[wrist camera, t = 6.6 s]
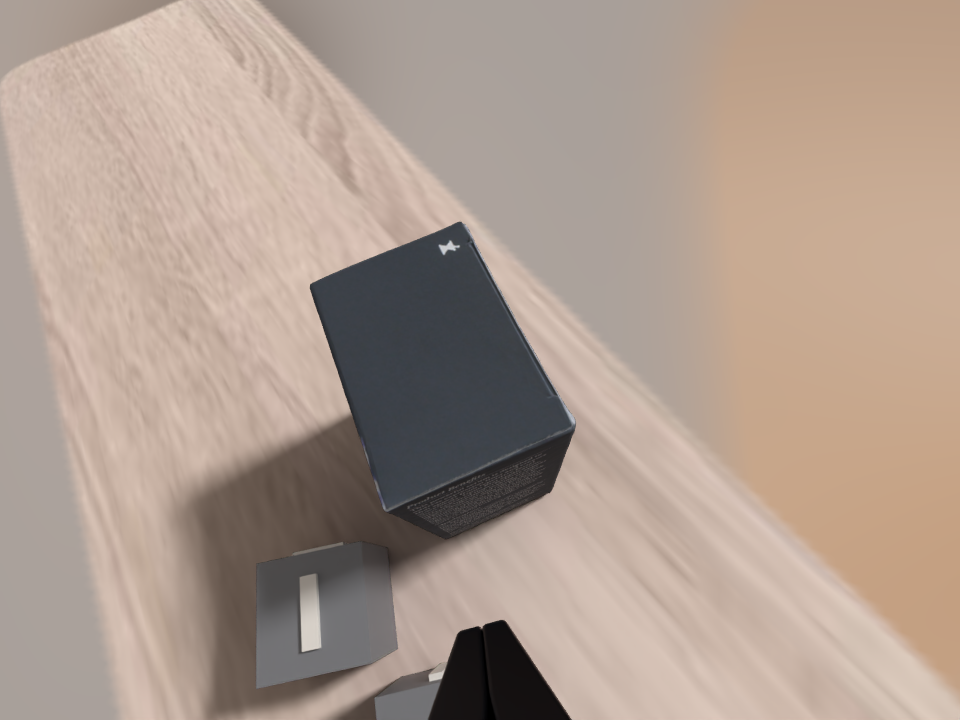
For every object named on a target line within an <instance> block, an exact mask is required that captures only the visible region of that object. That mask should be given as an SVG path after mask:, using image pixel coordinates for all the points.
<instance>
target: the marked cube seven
mask: <svg viewBox="0 0 960 720" xmlns="http://www.w3.org/2000/svg"><path fill="white" fill-rule="evenodd" d="M397 649H398V644H397V635H396V625H395V616H394V606H393V597H392V588H391V578H390V569H389V559H388V550H387V547H383V546H379V545H375V544H371V543H367V542H363V541H359V542H355V543H350V544H347V543H346V542H340V543H336V544H331V545H326V546H322V547H317V548H313V549H308V550H303V551H299V552H294V553H293V556H290V557H285V558H281V559H276V560H272V561H267V562H262V563H258V564H257V577H256V689H258V688H263V687H267V686H272V685H277V684H281V683H286V682H290V681H295V680H299V679H304V678H308V677H313V676H317V675H322V674H326V673H331V672H335V671H340V670H344V669H349V668H353V667H358V666H363V665H367V664H372V663H373V662H375V661H377V660H379V659H380V658H382V657H384V656H386V655H388V654H389V653H391V652H393V651H395V650H397Z"/></svg>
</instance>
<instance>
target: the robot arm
mask: <svg viewBox="0 0 960 720" xmlns="http://www.w3.org/2000/svg"><path fill="white" fill-rule="evenodd" d="M428 720H572V719H571V718H570V716H569V715H568V713H567V712H566V710H565V709H564V707H563V706H562V704H561V703H560V701H559V700H558V698H557V697H556V695H555V694H554V692H553V691H552V689H551V688H550V686H549V685H548V683H547V682H546V680H545V679H544V677H543V676H542V674H541V673H540V671H539V670H538V669H537V667H536V666H535V664H534V663H533V661H532V660H531V658H530V657H529V655H528V654H527V652H526V651H525V649H524V648H523V646H522V645H521V643H520V642H519V640H518V639H517V637H516V636H515V634H514V633H513V631H512V630H511V628H510V627H509V625H508V624H507V622H506V621H504V620H499V621H495V622H492V623H488V624H485V625H484V626H483V628H481V627H478V626H477V627H473V628H469V629H466V630H462V631H460V632H459V633H458V634H457V636H456V639H455V642H454V645H453V648H452V651H451V653H450V656H449V659H448V662H447V665H446V668H445V671H444V674H443V677H442V679H441V682H440V685H439V688H438V691H437V694H436V697H435V700H434V703H433V705H432V708H431V711H430V714H429V717H428Z"/></svg>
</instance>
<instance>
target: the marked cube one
mask: <svg viewBox="0 0 960 720" xmlns="http://www.w3.org/2000/svg"><path fill="white" fill-rule="evenodd" d="M446 665H447V662H444V663H440V664H439V665H438V666H437V667H436V668H435V669H432V670H428V671H423V672H419V673H415V674H411V675H407V676H402V677H400V678H399V679H398V680H396V681H395V682H394V683H393V684H391V685H390V686H389V687H388V688H386V689H385V690H384V691H382V692H381V693H380V694H379V695H377V696H376V697H375V698H374V700H375V710H376V720H428V717H429V714H430V711H431V708H432V705H433V703H434V700H435V697H436V694H437V691H438V688H439V685H440V682H441V679H442V677H443V674H444V671H445V668H446Z"/></svg>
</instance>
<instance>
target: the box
mask: <svg viewBox="0 0 960 720" xmlns="http://www.w3.org/2000/svg"><path fill="white" fill-rule="evenodd" d="M310 290H311V293H312V297H313V300H314V303H315V306H316V309H317V312H318V314H319V317H320V320H321V323H322V326H323V329H324V332H325V335H326V338H327V341H328V344H329V347H330V350H331V353H332V356H333V359H334V362H335V365H336V368H337V371H338V374H339V377H340V380H341V383H342V386H343V389H344V393H345V396H346V398H347V401H348V404H349V407H350V410H351V413H352V416H353V419H354V422H355V425H356V428H357V431H358V434H359V437H360V439H361V442H362V445H363V448H364V452H365V455H366V458H367V461H368V464H369V467H370V470H371V473H372V476H373V479H374V482H375V485H376V488H377V492H378V495H379V498H380V501H381V504H382V507H383V509H384V511H385V512H387V513H390V514H393V515H396V516H397V517H400V518H402V519H404V520H406V521H408V522H410V523H412V524H414V525H416V526H419V527H420V528H423V529H425V530H427V531H429V532H431V533H433V534H435V535H437V536H439V537H441V538H443V539H448V538H451V537H453V536H455V535H457V534H459V533H461V532H463V531H466V530H468V529H470V528H472V527H475V526H477V525H479V524H481V523H483V522H486V521H488V520H490V519H492V518H494V517H496V516H498V515H501V514H503V513H505V512H507V511H510V510H512V509H514V508H516V507H518V506H521V505H523V504H525V503H527V502H529V501H532V500H534V499H536V498H539V497H541V496H543V495H545V494H547V493H550V492H551V491H552V489H553V487H554V484H555V481H556V478H557V476H558V473H559V471H560V468H561V465H562V462H563V459H564V457H565V454H566V451H567V449H568V447H569V444H570V441H571V438H572V435H573V433H574V431H575V426H576V421H575V418H574V417H573V415H572V414H571V413H570V411H569V410H568V409H567V407H566V405H565V404H564V402H563V401H562V399H561V398H560V396H559V394H558V392H557V391H556V389H555V387H554V386H553V384H552V382H551V381H550V379H549V377H548V375H547V374H546V372H545V371H544V369H543V367H542V365H541V363H540V361H539V359H538V357H537V356H536V354H535V352H534V350H533V348H532V347H531V345H530V343H529V342H528V340H527V338H526V336H525V335H524V333H523V331H522V330H521V328H520V326H519V324H518V323H517V321H516V319H515V317H514V315H513V313H512V311H511V309H510V307H509V305H508V304H507V302H506V300H505V298H504V296H503V295H502V292H501V290H500V289H499V287H498V285H497V284H496V282H495V280H494V278H493V276H492V274H491V272H490V270H489V268H488V266H487V264H486V263H485V261H484V259H483V257H482V255H481V253H480V251H479V249H478V247H477V245H476V243H475V241H474V239H473V237H472V235H471V233H470V231H469V229H468V227H467V226H466V225H465V224H463V223H462V222H457V223H455V224H453V225H451V226H448V227H446V228H444V229H442V230H440V231H437V232H435V233H432V234H430V235H427V236H425V237H422V238H420V239H417V240H415V241H412V242H410V243H407V244H405V245H402V246H400V247H397V248H395V249H392V250H389V251H386V252H384V253H382V254H379V255H377V256H374V257H372V258H369V259H367V260H364V261H362V262H359V263H357V264H354V265H352V266H349V267H347V268H345V269H343V270H340V271H338V272H335V273H333V274H331V275H329V276H326V277H324V278H322V279H320V280H318V281H316V282H314V283H312V284H310Z"/></svg>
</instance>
